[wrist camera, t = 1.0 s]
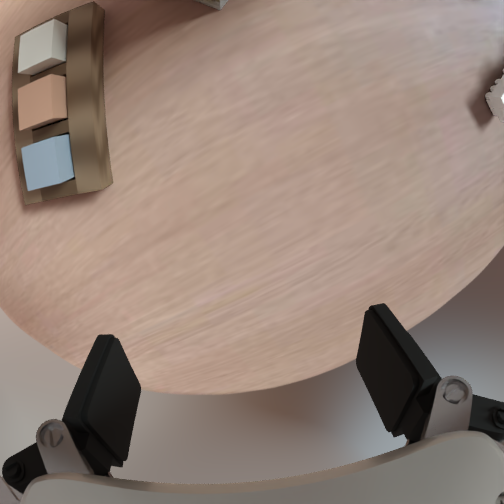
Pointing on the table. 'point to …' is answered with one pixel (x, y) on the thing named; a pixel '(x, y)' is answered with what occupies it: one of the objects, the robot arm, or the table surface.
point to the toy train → (497, 98)
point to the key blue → (48, 162)
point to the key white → (43, 47)
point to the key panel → (72, 107)
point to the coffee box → (214, 3)
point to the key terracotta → (42, 102)
